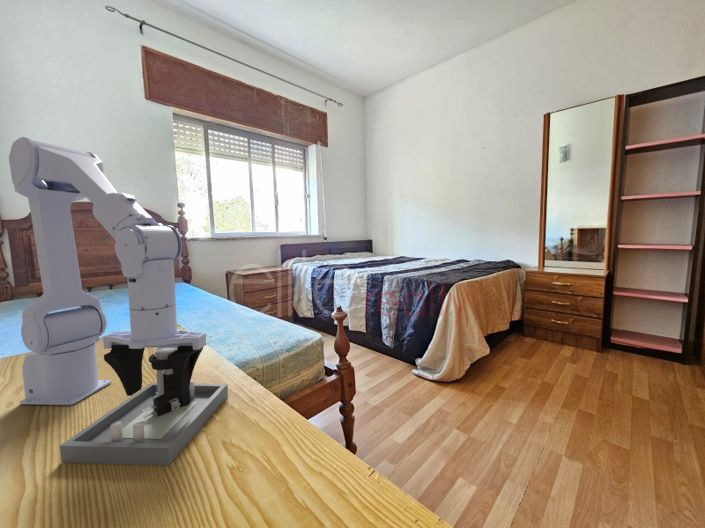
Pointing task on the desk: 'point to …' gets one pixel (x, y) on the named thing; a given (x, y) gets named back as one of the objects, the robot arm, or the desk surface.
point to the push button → (165, 385)
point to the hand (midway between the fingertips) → (158, 392)
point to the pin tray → (144, 429)
